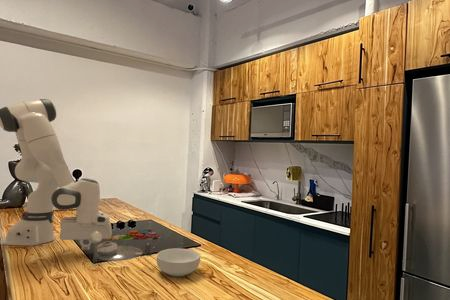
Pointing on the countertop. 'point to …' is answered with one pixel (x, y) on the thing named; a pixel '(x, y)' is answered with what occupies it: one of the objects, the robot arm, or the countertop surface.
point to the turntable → (127, 253)
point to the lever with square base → (95, 243)
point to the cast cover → (106, 249)
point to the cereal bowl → (178, 261)
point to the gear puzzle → (136, 235)
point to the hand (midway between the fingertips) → (85, 249)
